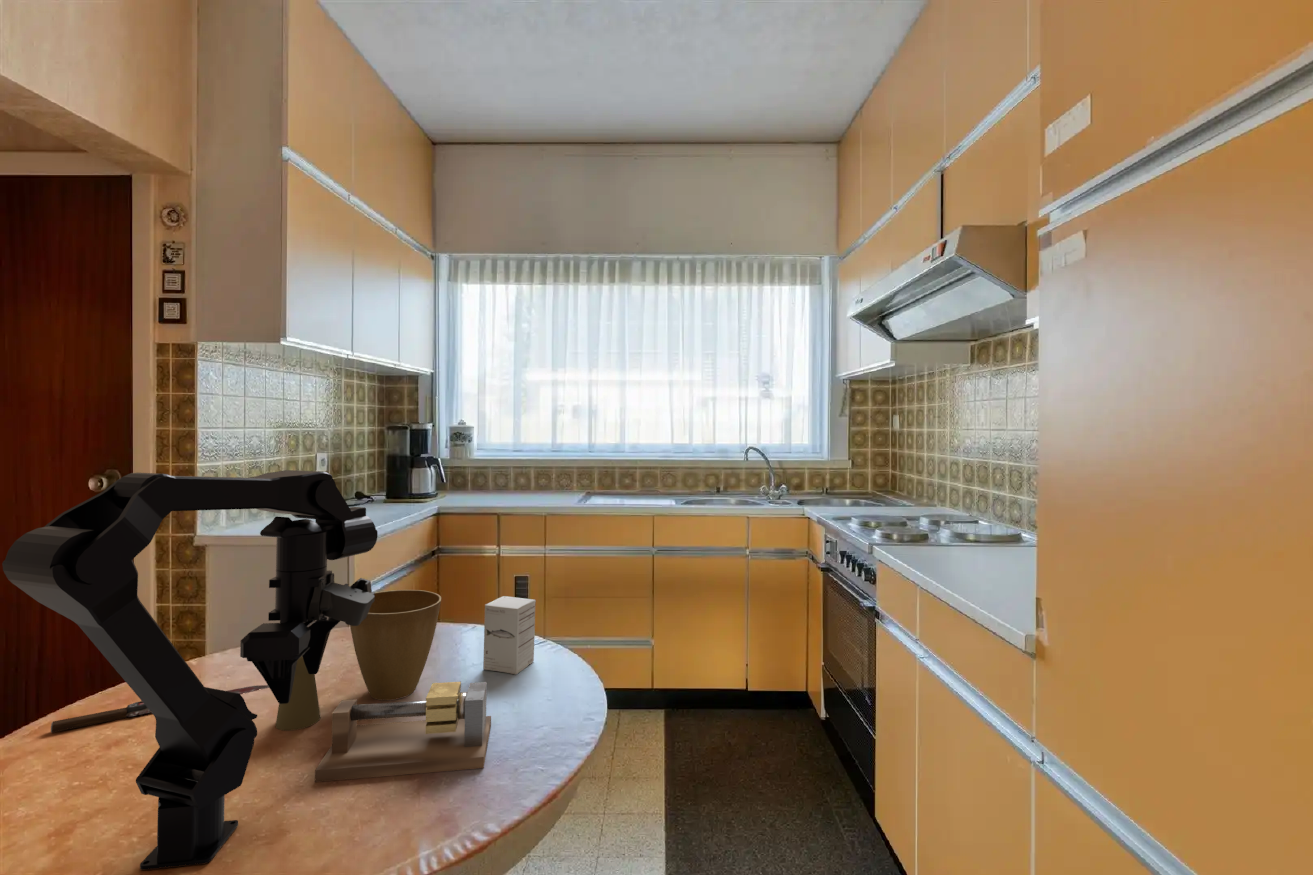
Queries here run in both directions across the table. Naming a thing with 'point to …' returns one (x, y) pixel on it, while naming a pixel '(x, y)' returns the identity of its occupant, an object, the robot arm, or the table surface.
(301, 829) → the table surface
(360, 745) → the jig
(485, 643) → the supplement box
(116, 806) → the table surface
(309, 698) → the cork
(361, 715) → the bolt
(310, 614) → the robot arm
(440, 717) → the nut
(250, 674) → the table surface
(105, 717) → the knife
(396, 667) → the plant pot
